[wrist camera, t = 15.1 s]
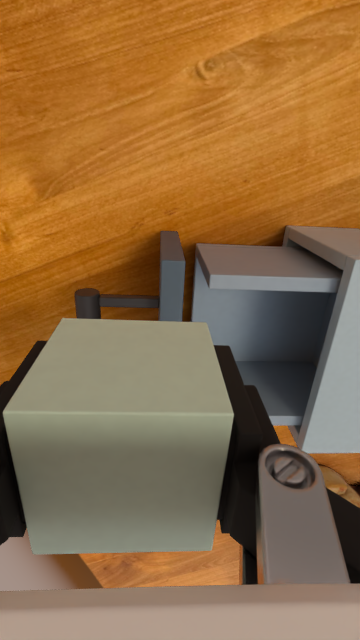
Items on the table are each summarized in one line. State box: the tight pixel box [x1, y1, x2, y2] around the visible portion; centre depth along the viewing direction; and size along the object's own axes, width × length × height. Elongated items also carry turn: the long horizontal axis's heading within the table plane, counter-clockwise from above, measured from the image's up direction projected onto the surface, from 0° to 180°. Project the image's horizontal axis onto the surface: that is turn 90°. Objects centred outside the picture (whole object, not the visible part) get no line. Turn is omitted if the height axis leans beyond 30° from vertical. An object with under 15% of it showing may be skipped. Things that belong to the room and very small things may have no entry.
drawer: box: [75, 231, 344, 425], centre depth 22 cm, size 18×11×8 cm, turn 87°
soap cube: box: [3, 318, 234, 554], centre depth 9 cm, size 4×4×4 cm
